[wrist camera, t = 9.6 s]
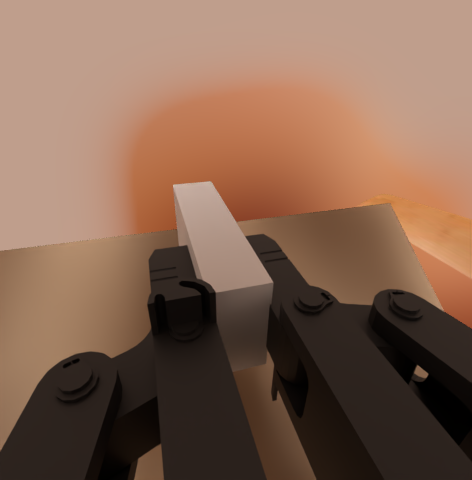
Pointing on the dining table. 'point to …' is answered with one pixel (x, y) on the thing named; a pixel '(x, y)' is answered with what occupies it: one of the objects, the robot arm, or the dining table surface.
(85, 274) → the carton flap
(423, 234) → the dining table surface
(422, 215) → the dining table surface
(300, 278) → the robot arm
